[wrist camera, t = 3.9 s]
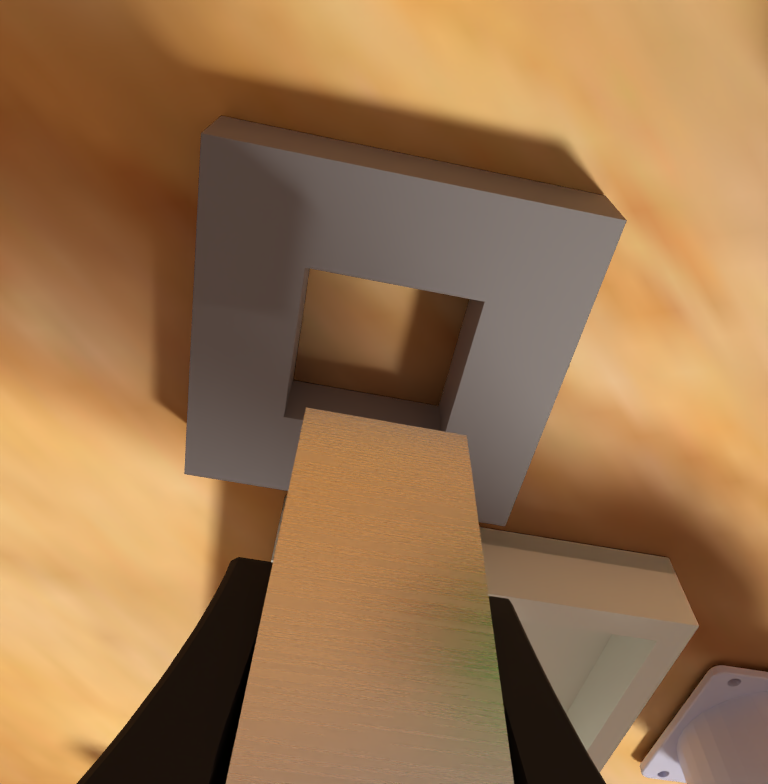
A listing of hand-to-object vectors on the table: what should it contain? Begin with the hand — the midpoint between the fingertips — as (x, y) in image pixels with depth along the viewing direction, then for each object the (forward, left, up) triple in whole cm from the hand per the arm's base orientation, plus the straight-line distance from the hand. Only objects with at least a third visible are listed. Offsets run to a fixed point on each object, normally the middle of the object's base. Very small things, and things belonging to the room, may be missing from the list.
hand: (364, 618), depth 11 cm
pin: (0, 0, -3) cm, 3 cm away
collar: (0, 0, -10) cm, 10 cm away
